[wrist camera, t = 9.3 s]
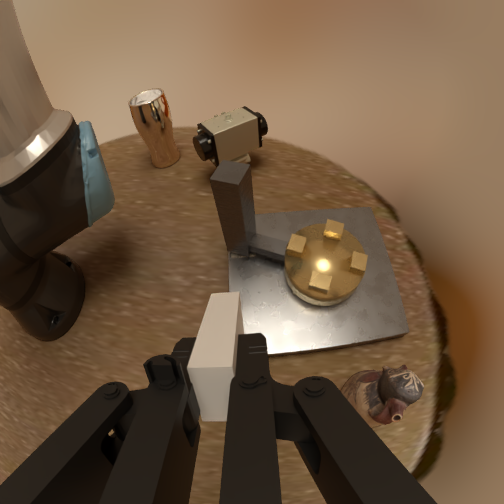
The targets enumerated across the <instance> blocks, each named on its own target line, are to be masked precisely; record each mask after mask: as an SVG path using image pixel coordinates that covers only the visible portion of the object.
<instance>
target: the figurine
mask: <svg viewBox="0 0 504 504" xmlns="http://www.w3.org/2000/svg"><path fill="white" fill-rule="evenodd" d="M423 388H424V384H423V383H422V381H421V380H420V379H419V378H418V377H417V376H416V375H415V374H414V373H413V372H412V371H411V370H407V367H406V365H402V366H401V367H400V368H398V369H392V368H389V367H387V366H383V371H375V370H366V371H361V372H358V373H356V374H354V375H353V376H352V377H351V378H350V379H349V380H348V381H347V382H346V383H345V385H344V386H343V388H342V390H341V393H342V394H343V395H344V396H345V398H346V399H347V400H348V401H349V402H350V404H351V405H352V406H353V407H354V408H355V410H356V411H357V412H358V413H359V414H360V415H361V417H362V418H363V419H364V420H365V421H366V423H367V424H368V425H369V426H370V427H376V426H380V425H383V424H384V425H386V424H390V423H391V422H398V421H400V420H401V419H402V418H403V412H404V411H405V409H406V408H407V407H408V406H409V405H410V404H413V403H414V402H416V401H417V400H418V399H419V398H420V397H421V395H422V391H423Z"/></svg>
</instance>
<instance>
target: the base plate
mask: <svg viewBox="0 0 504 504" xmlns="http://www.w3.org/2000/svg"><path fill="white" fill-rule="evenodd" d="M327 219H330V220H333V221H337V222H340V223H344V228H343V229H345V230H347V231H348V232H350V233H351V234H352V235H353V236H354V237H356V239H357V240H358V241H359V242H360V244H361V245H362V247H363V249H364V252H365V254H366V255H368V257H367V263H366V271H365V274H364V277H363V278H362V280H361V282H360V283H359V285H358V287H357V288H356V290H355V291H354V293H353V294H352V295H351V296H350V297H349V298H348V299H346V300H345V301H343V302H341V303H339V304H335V305H330V306H319V305H314V304H311V303H308V302H306V301H304V300H302V299H301V298H299V297H298V296H297V295H296V294H295V293H294V292H293V291H292V290H291V288H290V287H289V285H288V283H287V281H286V278H285V274H284V261H282V260H278V259H275V258H271V257H268V256H264V255H261V254H257V253H254V252H251V254H250V256H249V257H246V256H243V255H239V254H236V253H233V252H229V251H228V252H229V292H240V301H241V309H242V318H243V326H244V334H250V333H262V334H263V335H264V336H265V337H266V341H267V351H268V357H274V356H285V355H294V354H303V353H311V352H319V351H326V350H333V349H339V348H345V347H351V346H357V345H363V344H368V343H373V342H378V341H383V340H388V339H393V338H397V337H402V336H404V335H406V334H407V333H409V328H408V324H407V320H406V316H405V312H404V308H403V304H402V300H401V296H400V293H399V289H398V286H397V282H396V279H395V275H394V272H393V269H392V266H391V263H390V259H389V256H388V253H387V250H386V247H385V244H384V242H383V239H382V236H381V233H380V230H379V228H378V225H377V222H376V220H375V217H374V214H373V212H372V209H371V207H360V208H341V209H324V210H308V211H294V212H280V213H268V214H256V215H255V222H256V233H257V234H261V235H265V236H268V237H272V238H276V239H279V240H283V241H287V242H289V240H290V238H291V236H292V234H295V233H296V232H297V231H299V230H300V229H302V228H304V227H306V226H309V225H313V224H326V223H327Z"/></svg>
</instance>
